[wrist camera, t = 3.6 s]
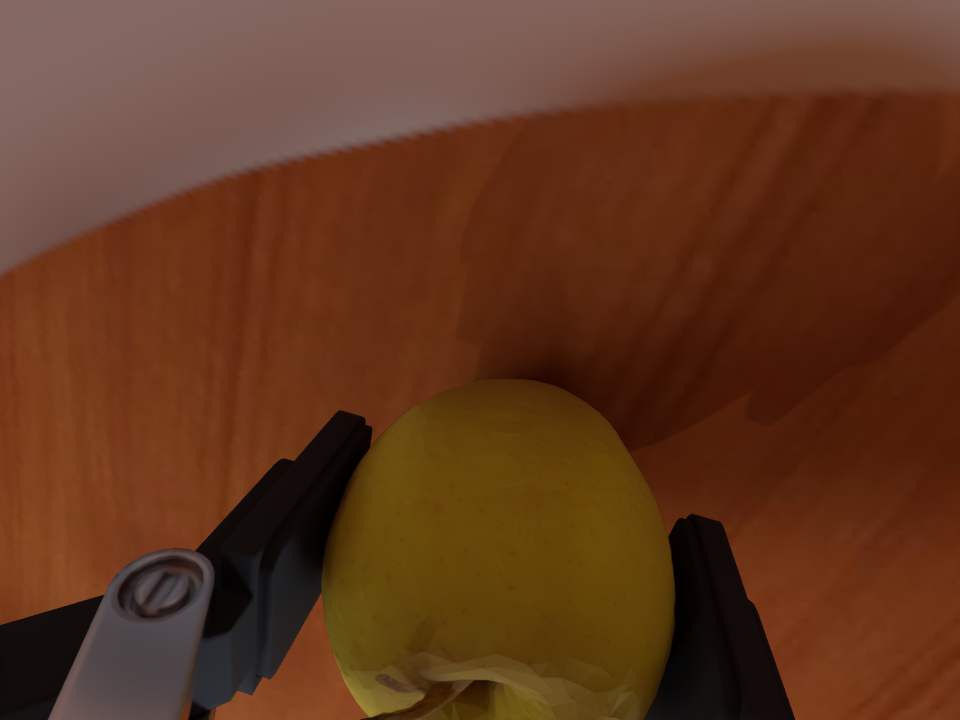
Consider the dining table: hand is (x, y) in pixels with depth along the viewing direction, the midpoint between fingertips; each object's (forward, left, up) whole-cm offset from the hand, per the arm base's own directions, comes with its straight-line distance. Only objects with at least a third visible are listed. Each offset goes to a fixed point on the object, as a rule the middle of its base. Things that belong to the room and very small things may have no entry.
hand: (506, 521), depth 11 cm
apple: (0, 0, -3) cm, 3 cm away
